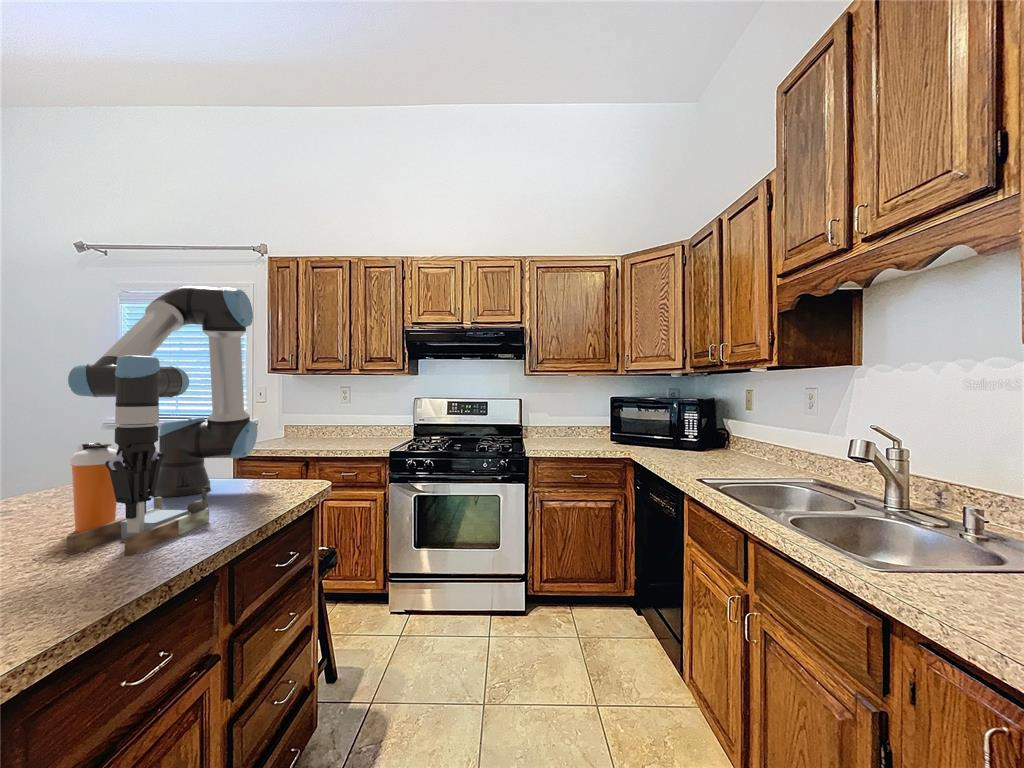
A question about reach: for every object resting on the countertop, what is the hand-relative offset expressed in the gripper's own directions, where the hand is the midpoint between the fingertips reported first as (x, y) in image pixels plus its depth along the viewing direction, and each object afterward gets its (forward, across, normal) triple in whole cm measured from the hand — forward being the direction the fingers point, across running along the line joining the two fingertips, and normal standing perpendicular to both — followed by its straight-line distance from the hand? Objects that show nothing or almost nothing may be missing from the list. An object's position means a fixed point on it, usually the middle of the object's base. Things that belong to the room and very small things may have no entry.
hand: (135, 531), depth 101 cm
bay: (+2, -2, 0) cm, 3 cm away
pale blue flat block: (+2, -6, 0) cm, 6 cm away
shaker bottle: (+2, -7, -16) cm, 18 cm away
